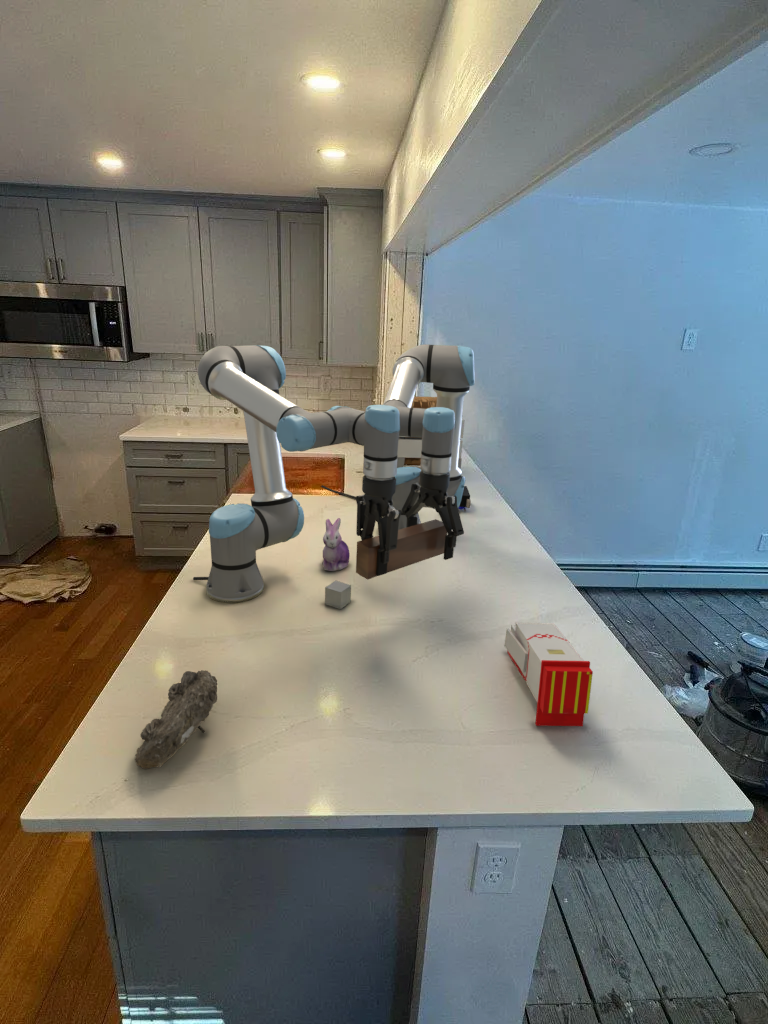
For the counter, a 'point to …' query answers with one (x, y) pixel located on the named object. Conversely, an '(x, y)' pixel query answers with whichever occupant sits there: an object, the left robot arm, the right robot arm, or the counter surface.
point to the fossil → (178, 718)
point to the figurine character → (465, 499)
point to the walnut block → (403, 548)
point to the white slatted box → (413, 445)
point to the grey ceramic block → (337, 594)
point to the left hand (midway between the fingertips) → (374, 569)
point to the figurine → (334, 548)
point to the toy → (551, 672)
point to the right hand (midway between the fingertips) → (429, 549)
